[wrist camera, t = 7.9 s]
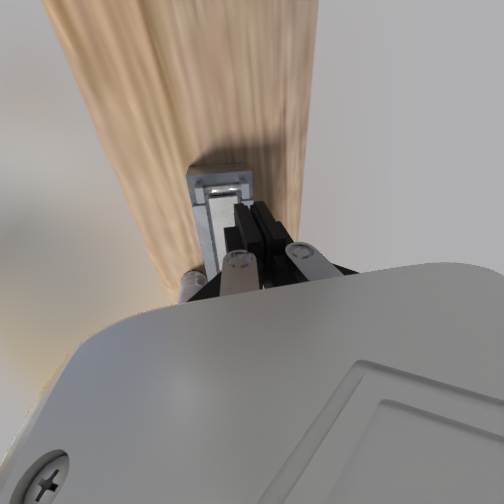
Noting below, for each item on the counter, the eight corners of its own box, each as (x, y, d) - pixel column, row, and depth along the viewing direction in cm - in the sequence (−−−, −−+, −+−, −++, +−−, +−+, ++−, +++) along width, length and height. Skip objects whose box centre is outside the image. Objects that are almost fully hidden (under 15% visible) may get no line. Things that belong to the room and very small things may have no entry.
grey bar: (242, 276, 38) (243, 279, 38) (221, 279, 38) (221, 282, 37) (236, 194, 30) (237, 196, 29) (208, 197, 29) (208, 199, 29)
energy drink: (189, 292, 46) (185, 339, 37) (176, 276, 43) (168, 323, 34) (210, 283, 46) (212, 328, 37) (199, 266, 43) (198, 311, 33)
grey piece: (188, 166, 32) (184, 181, 25) (245, 162, 34) (256, 175, 27) (209, 274, 45) (210, 303, 38) (250, 267, 46) (258, 295, 39)
